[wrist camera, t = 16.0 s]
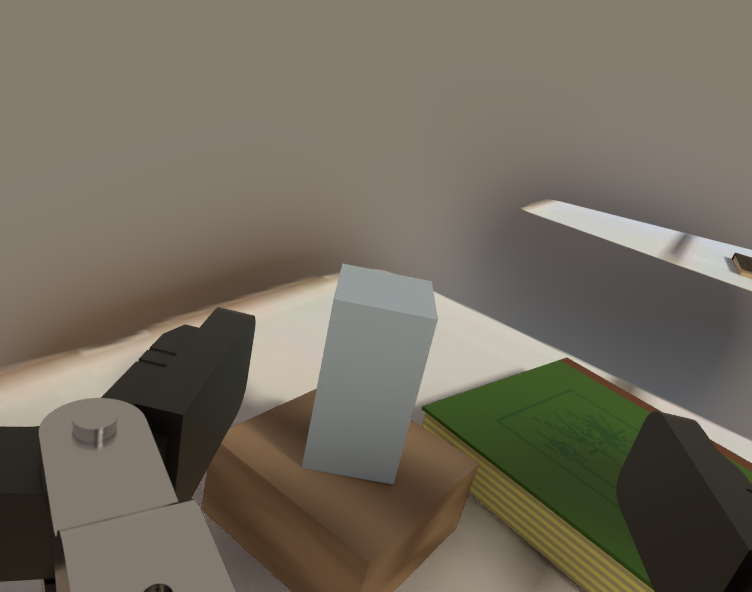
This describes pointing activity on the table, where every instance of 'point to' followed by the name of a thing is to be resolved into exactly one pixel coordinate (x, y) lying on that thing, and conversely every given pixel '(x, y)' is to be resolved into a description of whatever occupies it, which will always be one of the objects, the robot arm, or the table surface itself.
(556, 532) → the hardcover book
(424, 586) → the table surface
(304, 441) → the base brick
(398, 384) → the top brick
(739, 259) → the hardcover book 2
